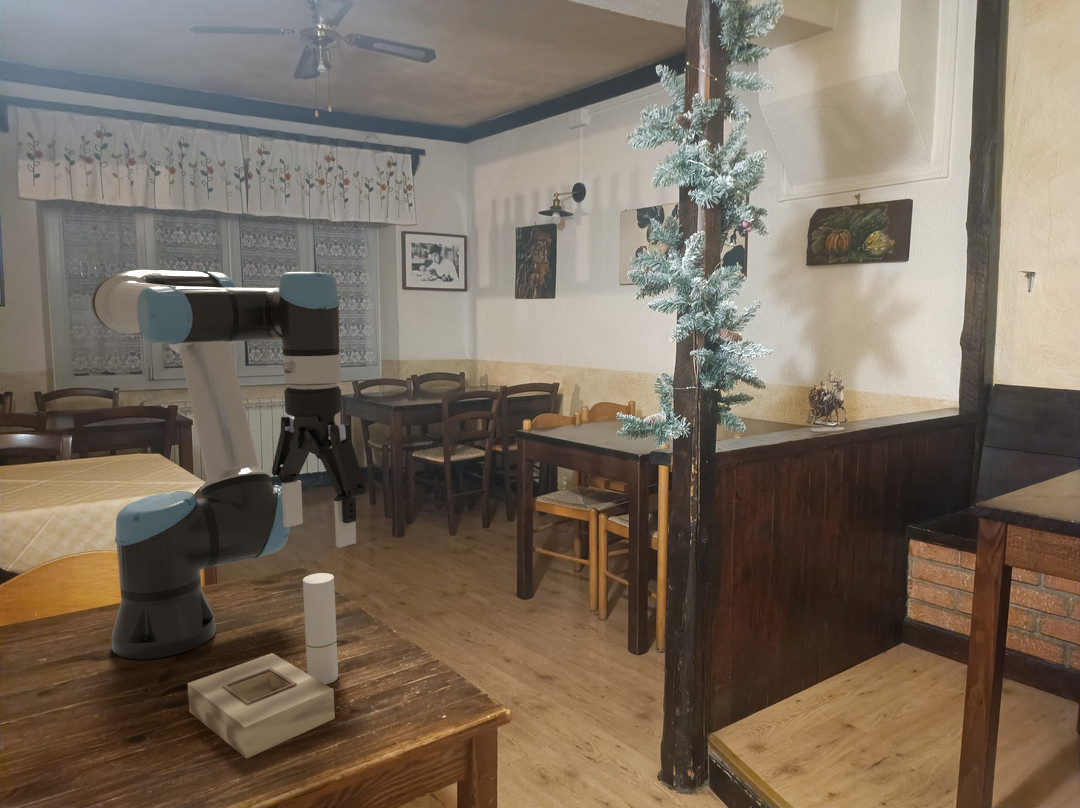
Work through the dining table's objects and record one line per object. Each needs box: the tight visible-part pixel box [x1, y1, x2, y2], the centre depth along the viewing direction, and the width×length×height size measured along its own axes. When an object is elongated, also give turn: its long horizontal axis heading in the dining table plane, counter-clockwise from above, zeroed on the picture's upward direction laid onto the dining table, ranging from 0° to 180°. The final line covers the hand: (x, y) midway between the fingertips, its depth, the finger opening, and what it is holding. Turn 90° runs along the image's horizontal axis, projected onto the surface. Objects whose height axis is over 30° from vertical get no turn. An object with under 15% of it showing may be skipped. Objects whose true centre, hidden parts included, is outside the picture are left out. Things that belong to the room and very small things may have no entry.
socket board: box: [187, 652, 336, 760], centre depth 100 cm, size 16×12×4 cm
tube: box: [302, 572, 339, 685], centre depth 109 cm, size 4×4×15 cm
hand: (318, 534), depth 107 cm, fingers open, 13 cm apart
